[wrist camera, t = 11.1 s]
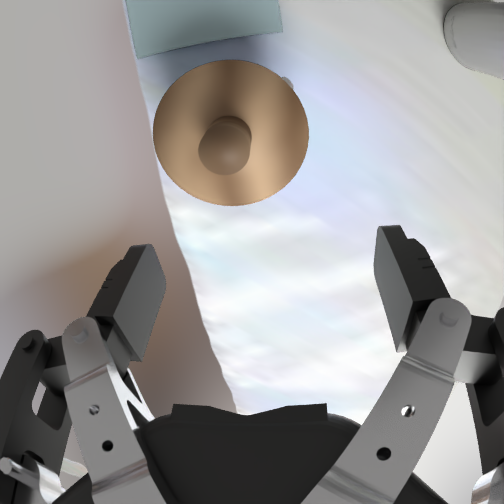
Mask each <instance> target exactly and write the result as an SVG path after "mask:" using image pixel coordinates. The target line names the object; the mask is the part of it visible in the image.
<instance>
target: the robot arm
mask: <svg viewBox="0 0 504 504" xmlns="http://www.w3.org/2000/svg"><path fill="white" fill-rule="evenodd" d="M444 34H445V39H446V42H447V45H448V47H449V49H450V51H451V53H452V54H453V56H454V57H455V59H456V60H457V61H458V62H459V63H460V64H462V65H463V66H465V67H466V68H469V69H471V70H474V71H478V72H481V73H484V74H488V75H491V76H494V77H497V78H500V79H503V80H504V3H503V2H501V3H500V2H499V3H498V2H475V3H460V4H457V5H455V6H453V7H452V8H451V9H450V10H449V11H448V13H447V15H446V17H445V22H444ZM374 275H375V280H376V283H377V286H378V289H379V292H380V295H381V299H382V302H383V305H384V309H385V312H386V315H387V319H388V322H389V326H390V330H391V333H392V337H393V340H394V344H395V348H396V352H397V353H398V352H404V351H407V353H406V355H405V357H404V356H403V358H402V359H401V361H400V363H399V364H398V366H397V368H396V370H395V372H394V374H393V375H392V377H391V379H390V381H389V382H388V384H387V386H386V388H385V389H384V391H383V393H382V394H381V396H380V398H379V399H378V401H377V402H376V404H375V406H374V407H373V409H372V411H371V412H370V414H369V415H368V417H367V418H366V420H365V421H364V423H363V424H362V425H360V424H358V423H357V422H355V421H353V420H351V419H348V418H346V417H343V416H339V415H336V414H330V413H327V403H324V404H311V405H294V406H285V407H281V408H277V409H273V410H269V411H265V412H261V413H257V414H253V415H240V414H236V413H232V412H229V411H225V410H221V409H217V408H214V407H211V406H199V405H182V404H173V408H172V413H171V414H168V415H164V416H161V417H158V418H156V419H155V418H154V417H153V416H152V414H151V413H150V411H149V409H148V407H147V405H146V404H145V401H144V399H143V397H142V395H141V393H140V391H139V389H138V387H137V385H136V382H135V380H134V378H133V376H132V373H131V371H130V370H129V368H128V365H129V362H130V361H140V362H141V361H142V360H143V357H144V353H145V350H146V347H147V344H148V341H149V338H150V335H151V332H152V329H153V326H154V323H155V320H156V317H157V314H158V311H159V308H160V305H161V302H162V299H163V297H164V294H165V290H166V279H165V275H164V273H163V270H162V268H161V265H160V262H159V260H158V257H157V255H156V252H155V250H154V247H153V246H152V245H151V244H145V245H134V246H131V247H130V248H129V250H128V252H127V253H126V255H125V257H124V259H123V260H120V261H119V262H118V263H117V264H116V265H115V266H114V267H113V268H112V269H111V270H110V272H109V274H108V276H107V277H106V281H104V283H103V285H102V287H101V289H100V291H99V292H98V294H97V296H96V298H95V300H94V302H93V304H92V306H91V308H90V310H89V312H88V314H87V316H86V317H81V318H79V319H76V320H75V321H73V322H72V323H70V324H69V325H68V326H67V327H66V329H65V330H64V333H63V335H62V336H58V337H55V338H51V339H47V338H46V337H45V336H44V334H43V333H42V332H41V331H39V330H31V331H29V332H27V333H26V334H24V335H23V336H22V337H21V338H20V339H19V341H18V342H17V344H16V346H15V349H14V350H13V352H12V354H11V357H10V359H9V361H8V363H7V365H6V367H5V370H4V372H3V374H2V376H1V379H0V504H448V503H447V502H446V501H445V500H443V499H442V498H441V497H440V496H439V495H438V494H437V493H436V492H435V491H433V490H432V489H431V488H430V487H429V486H428V485H427V484H426V483H424V482H423V481H422V480H421V479H420V478H419V477H418V476H417V475H415V474H414V473H413V472H412V471H413V470H414V468H415V466H416V464H417V462H418V461H419V459H420V457H421V455H422V453H423V451H424V449H425V448H426V446H427V443H428V442H429V440H430V438H431V436H432V434H433V432H434V429H435V427H436V425H437V423H438V421H439V419H440V416H441V414H442V412H443V410H444V407H445V405H446V402H447V400H448V398H449V395H450V393H451V391H452V388H453V385H454V382H462V383H465V384H466V388H467V392H468V396H469V400H470V405H471V409H472V414H473V418H474V423H475V428H476V434H477V439H478V445H479V451H480V458H481V465H482V473H483V476H482V477H481V478H480V479H479V480H478V481H477V483H476V484H475V486H474V489H473V492H472V499H471V504H504V308H501V309H500V310H499V311H498V312H497V314H496V316H495V317H494V318H487V317H480V316H474V315H471V314H470V312H469V310H468V309H467V307H466V306H465V305H464V304H462V303H461V302H459V301H457V300H455V299H452V298H451V297H450V295H449V293H448V291H447V289H446V287H445V285H444V283H443V281H442V279H441V277H440V275H439V273H438V271H437V269H436V268H435V265H434V263H433V261H432V260H431V259H430V256H429V254H428V252H427V250H426V249H425V247H424V246H423V245H422V244H420V243H419V242H418V241H417V240H416V239H414V238H413V239H407V237H406V235H405V233H404V231H403V230H402V228H401V226H400V225H391V226H379V227H378V230H377V237H376V247H375V256H374ZM39 381H40V382H41V383H42V384H43V385H44V386H45V387H46V390H45V393H44V396H43V399H42V402H41V404H40V407H39V410H38V413H37V416H36V415H35V414H34V412H33V410H32V400H33V397H34V395H35V392H36V389H37V386H38V384H39ZM72 424H73V427H74V431H75V434H76V437H77V441H78V444H79V446H80V450H81V453H82V456H83V459H84V462H85V464H86V467H87V470H88V473H87V474H86V475H84V476H83V477H82V478H81V479H80V480H78V481H77V482H76V483H75V484H74V485H73V486H71V487H70V488H69V489H68V490H65V488H64V487H62V486H61V482H60V479H59V474H60V469H61V465H62V461H63V456H64V452H65V448H66V444H67V440H68V437H69V433H70V429H71V426H72Z"/></svg>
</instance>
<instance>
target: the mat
mask: <svg viewBox="0 0 504 504" xmlns="http://www.w3.org/2000/svg"><path fill="white" fill-rule="evenodd" d="M126 4H127V10H128V16H129V21H130V26H131V31H132V37H133V42H134V47H135V51H136V56H137V59H140V58H144V57H147V56H151V55H155V54H158V53H162V52H166V51H170V50H174V49H178V48H183V47H187V46H192V45H197V44H201V43H207V42H212V41H217V40H223V39H229V38H236V37H243V36H250V35H259V34H268V33H278V32H283V29H282V22H281V16H280V9H279V3H278V0H126Z"/></svg>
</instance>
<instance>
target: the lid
mask: <svg viewBox="0 0 504 504" xmlns="http://www.w3.org/2000/svg"><path fill="white" fill-rule="evenodd" d="M308 140H309V128H308V122H307V117H306V114H305V111H304V108H303V106H302V104H301V102H300V100H299V98H298V96H297V95H296V93H295V92H294V91H293V89H292V88H291V87H290V86H289V85H288V84H287V82H286V81H284V80H283V79H282V78H281V77H280V76H279V75H277V74H276V73H274V72H272V71H271V70H269V69H267V68H265V67H263V66H261V65H258V64H255V63H251V62H248V61H241V60H221V61H214V62H210V63H207V64H204V65H201V66H199V67H196V68H194V69H192V70H190V71H189V72H187V73H185V74H184V75H183V76H181V77H180V78H179V79H177V80H176V81H175V82H174V83H173V84H172V85H171V86H170V87H169V89H168V90H167V92H166V93H165V94H164V96H163V98H162V99H161V101H160V103H159V105H158V108H157V111H156V114H155V118H154V124H153V141H154V146H155V151H156V154H157V157H158V159H159V161H160V163H161V165H162V167H163V169H164V170H165V172H166V173H167V175H168V176H169V177H170V178H171V179H172V181H173V182H174V183H175V184H177V185H178V186H179V187H180V188H181V189H183V190H184V191H185V192H187V193H188V194H190V195H192V196H194V197H195V198H198V199H200V200H203V201H205V202H209V203H212V204H217V205H223V206H240V205H247V204H252V203H255V202H259V201H261V200H264V199H266V198H269V197H270V196H272V195H274V194H275V193H277V192H278V191H280V190H281V189H282V188H284V187H285V186H286V185H287V184H288V183H289V182H290V181H291V180H292V179H293V177H294V176H295V175H296V173H297V172H298V170H299V168H300V167H301V165H302V163H303V160H304V158H305V155H306V151H307V148H308Z"/></svg>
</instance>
